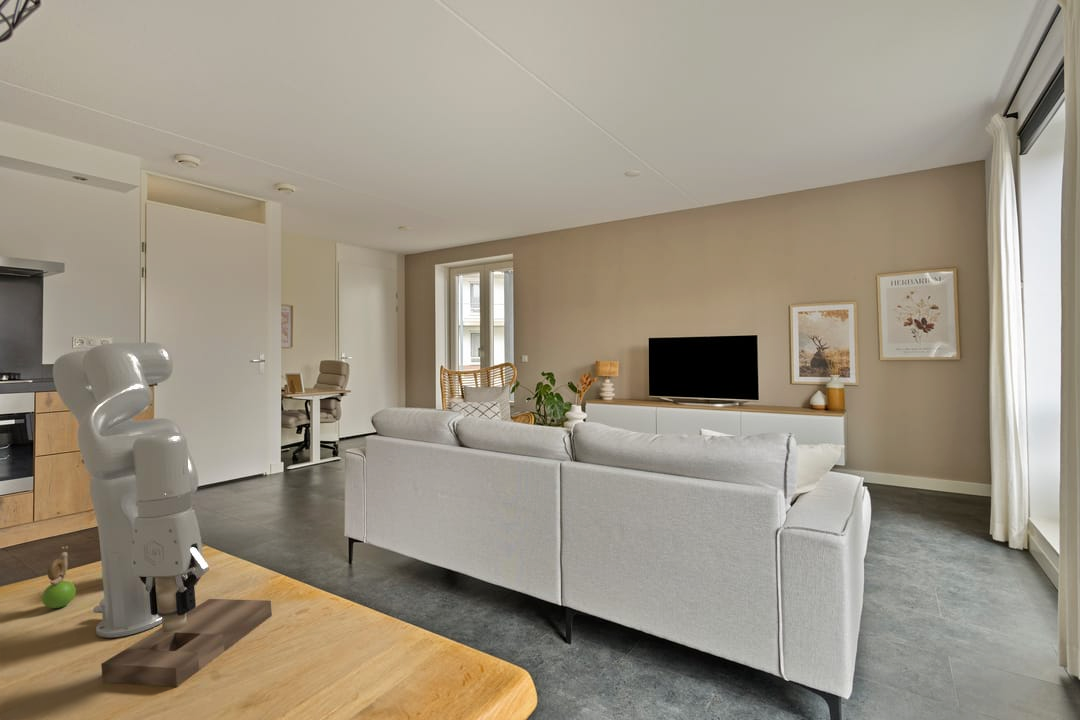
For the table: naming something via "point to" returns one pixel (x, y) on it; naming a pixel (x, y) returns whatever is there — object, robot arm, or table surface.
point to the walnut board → (186, 644)
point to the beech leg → (168, 603)
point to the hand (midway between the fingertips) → (173, 610)
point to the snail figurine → (58, 584)
